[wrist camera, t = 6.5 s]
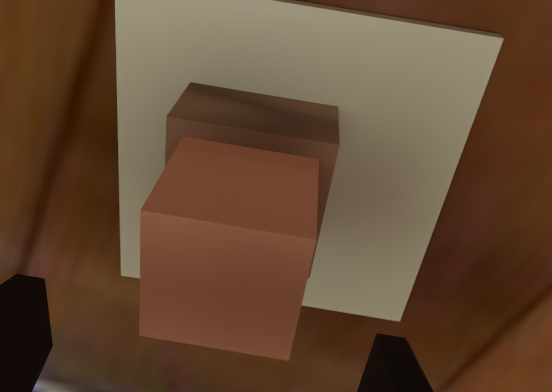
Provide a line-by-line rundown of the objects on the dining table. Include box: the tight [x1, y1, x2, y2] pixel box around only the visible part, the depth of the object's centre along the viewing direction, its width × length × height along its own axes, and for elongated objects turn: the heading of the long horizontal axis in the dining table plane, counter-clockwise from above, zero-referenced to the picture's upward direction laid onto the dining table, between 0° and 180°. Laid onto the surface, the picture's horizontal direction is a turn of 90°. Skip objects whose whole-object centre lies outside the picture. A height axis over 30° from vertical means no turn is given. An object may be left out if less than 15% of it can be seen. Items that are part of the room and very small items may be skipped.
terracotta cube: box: [139, 136, 319, 361], centre depth 14 cm, size 4×4×4 cm
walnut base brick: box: [165, 82, 340, 278], centre depth 17 cm, size 5×5×3 cm
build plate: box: [115, 0, 504, 322], centre depth 19 cm, size 12×12×1 cm
